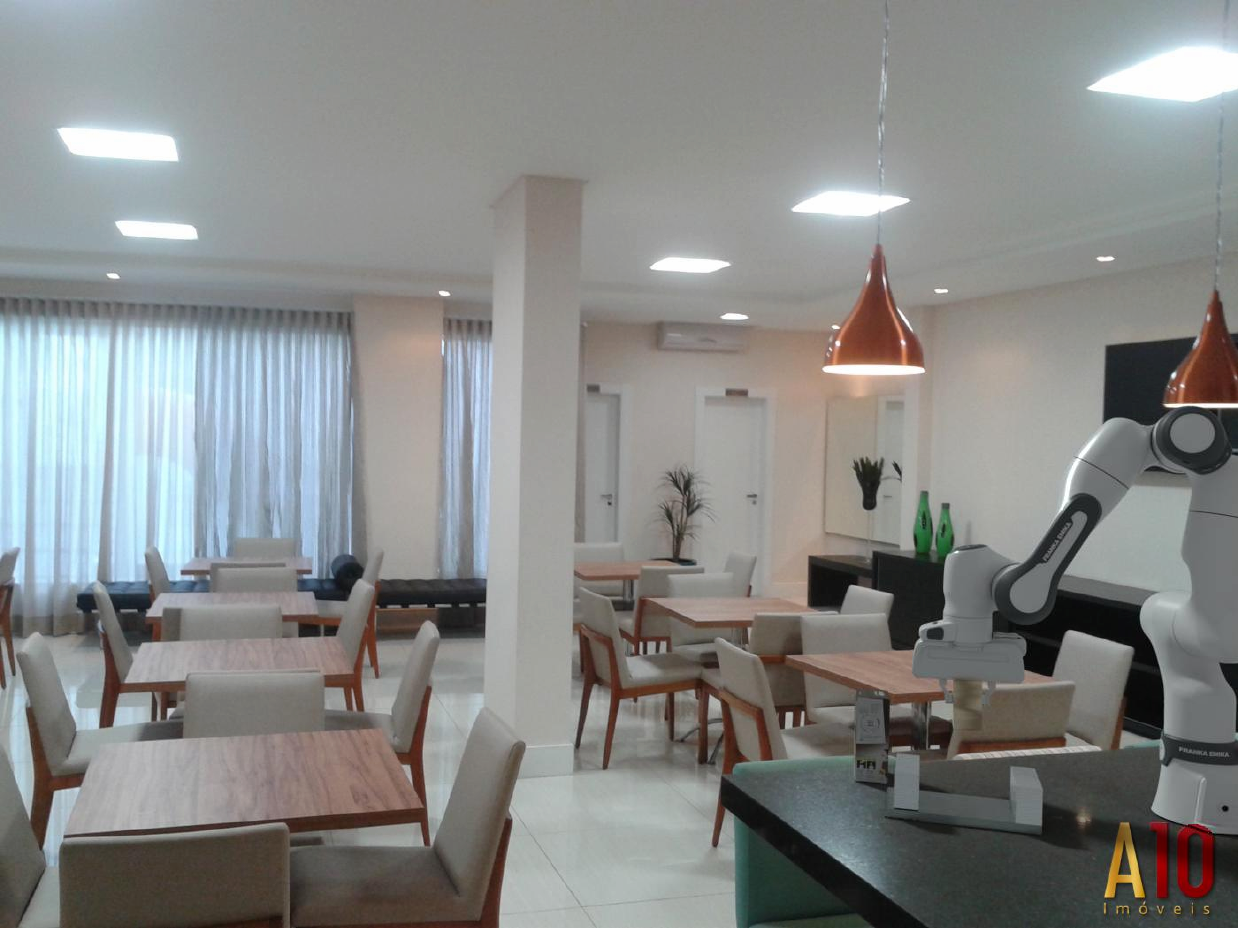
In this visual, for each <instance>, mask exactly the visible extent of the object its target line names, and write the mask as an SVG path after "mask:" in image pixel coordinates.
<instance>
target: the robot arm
mask: <svg viewBox="0 0 1238 928" xmlns="http://www.w3.org/2000/svg"><path fill="white" fill-rule="evenodd" d="M1146 469H1152V470H1155V471H1159V472H1163V473H1166V474H1172V475H1179V476H1180V475H1182V476H1183V475H1186V476H1187V477H1188V479H1189V481H1190V485H1191V495H1190V496H1191V497H1190V501H1189V506H1188V512H1187V515H1186V521H1185V526H1184V530H1183V535H1182V541H1181V546H1180V556H1181V559H1182V561H1183V562H1184V563H1185V564H1186V566H1187V568H1188V571H1189V575H1190V582H1191V591H1187V590H1179V589H1175V590H1165V591H1160V592H1156V593H1154V594H1152V595H1150V596H1149V597H1148V598H1147V599H1146V600H1145V601H1144V603H1143V604H1142V606H1141V609H1140V613H1139V621H1140V626H1141V629H1142V631H1143V632H1144V634H1145V635H1146V636H1147V638H1148V639H1149V641H1150V642H1151V644H1152V647H1153V650H1154V653H1155V656H1156V659H1157V663H1158V665H1159V669H1160V674H1161V679H1162V684H1163V698H1164V699H1163V705H1164V706H1163V730H1161V732H1160V739H1159V760H1160V763H1161V766H1160V767H1161V768H1160V774H1159V779H1158V785H1157V789H1156V794H1155V796H1154V800H1153V802H1152V804H1151V808H1150V809H1151V811H1152V812H1153V813H1154V814H1156V815H1158V816H1159V817H1162V818H1164V819H1166V820H1169V821H1172V822H1175V823H1178V824H1180V825H1181V824H1182V825H1185V826H1188V824H1199V825H1201V826H1205V827H1206V828H1208V830H1210V831H1211V832H1212V833H1211V834H1221V835H1222V834H1224V835H1238V739H1237V738H1236V723H1237V721H1236V720H1237V697H1236V696H1237V695H1236V694H1235V691H1234V689H1233V688H1232V686H1230V684H1229V683H1228V681H1227V679H1226V678H1225V676H1224V674H1223V671H1222V668H1221V665H1220V663H1221V664H1238V455H1235V454H1233V447H1232V444H1231V442H1230V441H1229V438H1228V436H1227V432H1226V430H1225V428H1224V425H1223V423H1222V422H1221V420H1220V419H1219V418H1218V416H1217V415H1216V414H1215V413H1213V412H1212V411H1211V410H1208V409H1207V408H1205V407H1201V406H1198V405H1183V406H1178V407H1176V408H1174V409H1172V410H1170V411H1167V413H1166V414H1164V415H1163V416H1162V417H1161V418H1159V420H1158V421H1157V422H1156V423H1154V424H1150V425H1144V424H1140V423H1139V422H1137V421H1135V420H1133V419H1129V418H1126V417H1112V418H1110V419H1107V420H1106V421H1104V423H1103V424H1102V425H1100V427H1098V429H1096V430H1095V431H1094V432H1093V433H1092V435H1090V436H1089V438H1088V439H1087V440H1086V441H1085V442H1084V443H1083V444H1082V446H1081V447H1080V448H1079V450H1078V451H1077V452H1076V453H1075V455H1074V456H1073V458H1072V459H1071V460H1070V461H1069V463H1068V465H1067V466H1066V468H1065V469H1064V471H1063V473H1062V475H1061V477H1060V479H1059V481H1058V484H1057V486H1056V488H1055V498H1056V500H1055V501H1056V502H1055V503H1056V506H1055V512H1054V516H1053V519H1052V521H1051V523H1050V524H1049V526H1048V528H1047V529H1046V531H1045V532H1044V534H1043V535H1042V537H1041V538H1040V540H1039V541H1038V542H1037V544H1036V545H1035V547H1034V549H1033V550H1032V552H1031V553H1030V554H1029V556H1028V557H1027V558H1026V560H1024V561H1023V562H1018V561H1016V560H1013V559H1011V558H1009V557H1006V556H1004V555H1002V554H1000V553H998V552H997V551H996V550H993V549H992V548H991V547H989V546H988V545H987V544H983V543H977V544H967V545H961V546H958V547H954V548H953V549H951V550H950V551H949V552H948V554H947V555H946V557H945V561H944V568H943V569H944V570H943V583H942V584H943V585H942V587H943V589H942V590H943V594H944V600H945V601H944V602H945V604H944V608H943V611H942V619H941V620H936V621H932V622H928V623H925V624H922V625H920V626H919V630H918V636H919V638H918V639H917V640H916V642H915V644H914V648H913V655H912V659H911V660H912V663H911V673H912V675H913V677H915V678H918V679H929V680H930V679H932V680H938V685H939V687H940V688H941V691H942V692H943V694H944V703H945V704H950V705H951V704H952V705H953V692H949V690H948V688H947V687H946V686H947V685H948V680H949V681H951V680H952V681H953V680H954V679H958V680H974V681H982V683H987V685H986V686H987V688H988V689H987V691H986V693H985V694H982V707H983V706H984V707H990V698H991V696H992V695H993V693H994V692H995V690H996V688H997V687H996V686H997V684H996V683H998V684H999V683H1000V684H1011V685H1012V684H1013V685H1014V684H1016V685H1021V683H1023V682H1024V680H1025V679H1026V676H1025V675H1026V674H1025V664H1024V658H1023V657H1024V656H1026V653H1027V641H1026V639H1025V638H1024V637H1023V636H1022V635H1019V634H1018V633H1016V632H1001V631H993V613H994V612H997V611H998V612H999V613H1000V614H1001V616H1003V618H1005V619H1006V620H1008V621H1009V622H1012V623H1014V624H1017V625H1023V626H1029V625H1034V624H1037V623H1040V622H1042V621H1043V620H1044V619H1046V618H1047V617H1048V616H1049V615H1050V613H1051V612H1052V611H1053V609H1054V607H1055V603H1056V599H1057V593H1058V588H1059V584H1060V581H1061V580H1062V577H1063V575H1064V574H1065V572H1066V571H1067V569H1068V567H1069V566H1070V565H1071V563H1072V562H1073V560H1074V558H1075V557H1076V556H1077V554H1078V552H1079V551H1080V549H1081V548H1082V546H1083V545H1084V543H1085V542H1086V540H1087V539H1088V538H1089V536H1090V535H1091V534H1092V533H1093V532H1094V530H1096V528H1097V527H1098V526H1099V525H1100V524H1101V523H1102V522H1103V520H1104V519H1106V517H1107V516H1109V515H1110V514H1111V512H1112V511H1114V509H1115V508H1116V507H1117V505H1118V504H1119V503H1120V502H1121V501H1122V499H1124V497H1125V496H1126V494H1128V492H1129V490H1130V489H1131V488H1132V486H1133V485H1134V484H1135V482H1136V481H1137V479H1138V478H1139V477H1140V475H1142V473H1143V472H1144V471H1145V470H1146Z"/></svg>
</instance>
